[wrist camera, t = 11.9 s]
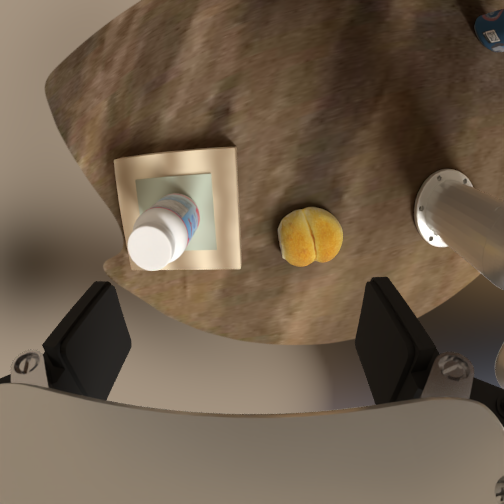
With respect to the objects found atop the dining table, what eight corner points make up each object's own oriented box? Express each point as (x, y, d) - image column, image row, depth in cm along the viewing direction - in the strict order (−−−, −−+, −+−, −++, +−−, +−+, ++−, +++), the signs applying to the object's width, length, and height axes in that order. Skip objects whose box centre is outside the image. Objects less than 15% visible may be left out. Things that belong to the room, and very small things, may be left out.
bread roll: (342, 254, 43) (349, 266, 39) (283, 264, 43) (285, 277, 40) (337, 200, 39) (344, 208, 36) (273, 211, 40) (275, 220, 37)
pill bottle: (190, 244, 39) (167, 288, 28) (149, 225, 38) (113, 261, 27) (208, 204, 36) (189, 236, 26) (165, 183, 35) (130, 208, 25)
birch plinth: (236, 146, 37) (234, 148, 34) (241, 259, 43) (240, 269, 40) (123, 157, 37) (112, 160, 34) (138, 261, 44) (130, 270, 40)
